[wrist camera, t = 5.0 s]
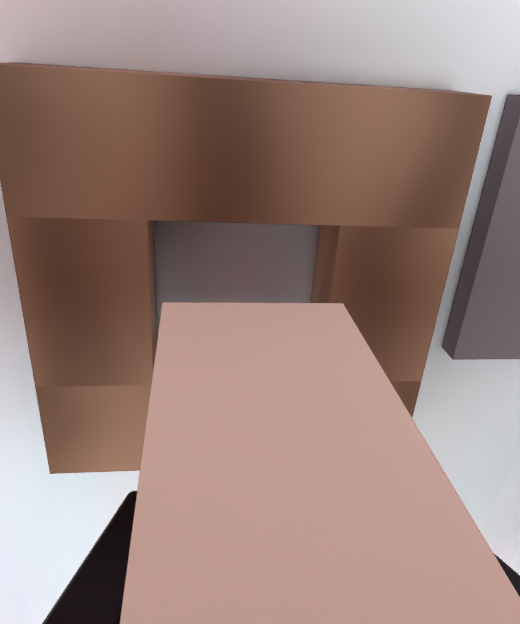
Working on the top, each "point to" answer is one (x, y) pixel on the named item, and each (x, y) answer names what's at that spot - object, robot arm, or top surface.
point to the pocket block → (215, 218)
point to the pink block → (294, 484)
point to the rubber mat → (492, 258)
